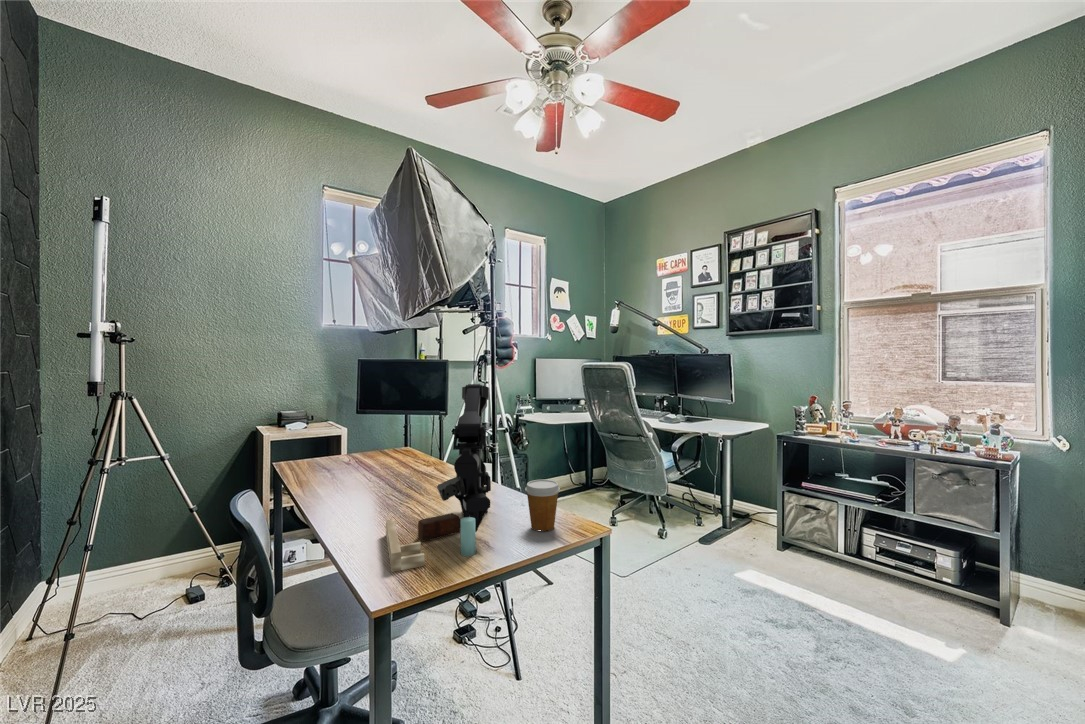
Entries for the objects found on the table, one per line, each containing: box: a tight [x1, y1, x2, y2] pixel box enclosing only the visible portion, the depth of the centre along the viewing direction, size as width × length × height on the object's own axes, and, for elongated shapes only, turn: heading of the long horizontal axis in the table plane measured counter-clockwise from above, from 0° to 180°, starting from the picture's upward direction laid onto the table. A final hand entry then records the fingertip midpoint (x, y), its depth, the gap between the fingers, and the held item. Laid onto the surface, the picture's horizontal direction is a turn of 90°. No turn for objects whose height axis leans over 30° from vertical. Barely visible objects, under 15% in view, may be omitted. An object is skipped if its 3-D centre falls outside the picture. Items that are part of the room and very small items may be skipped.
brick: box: [417, 513, 462, 542], centre depth 116 cm, size 11×4×5 cm, turn 127°
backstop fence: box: [385, 518, 426, 573], centre depth 107 cm, size 7×22×4 cm, turn 23°
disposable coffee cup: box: [524, 479, 561, 532], centre depth 120 cm, size 10×10×12 cm
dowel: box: [460, 517, 477, 557], centre depth 104 cm, size 4×4×8 cm
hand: (470, 526), depth 117 cm, fingers open, 9 cm apart
